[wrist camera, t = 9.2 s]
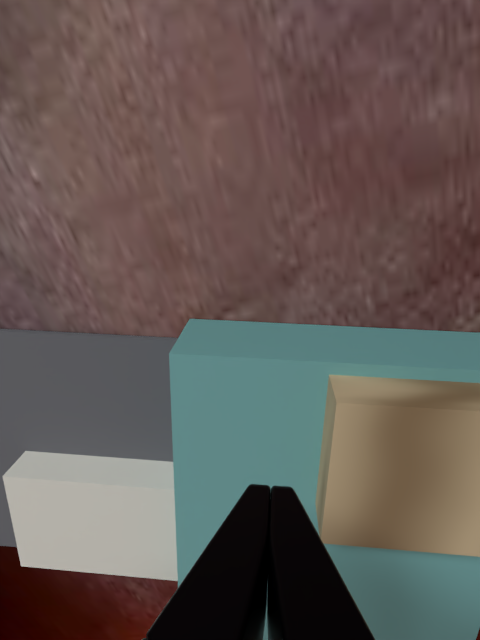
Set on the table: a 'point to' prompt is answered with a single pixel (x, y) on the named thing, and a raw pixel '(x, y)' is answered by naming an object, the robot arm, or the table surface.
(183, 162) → the table surface
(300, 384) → the plate
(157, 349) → the mat
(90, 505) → the white box
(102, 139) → the table surface
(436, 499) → the oak tile
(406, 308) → the table surface
